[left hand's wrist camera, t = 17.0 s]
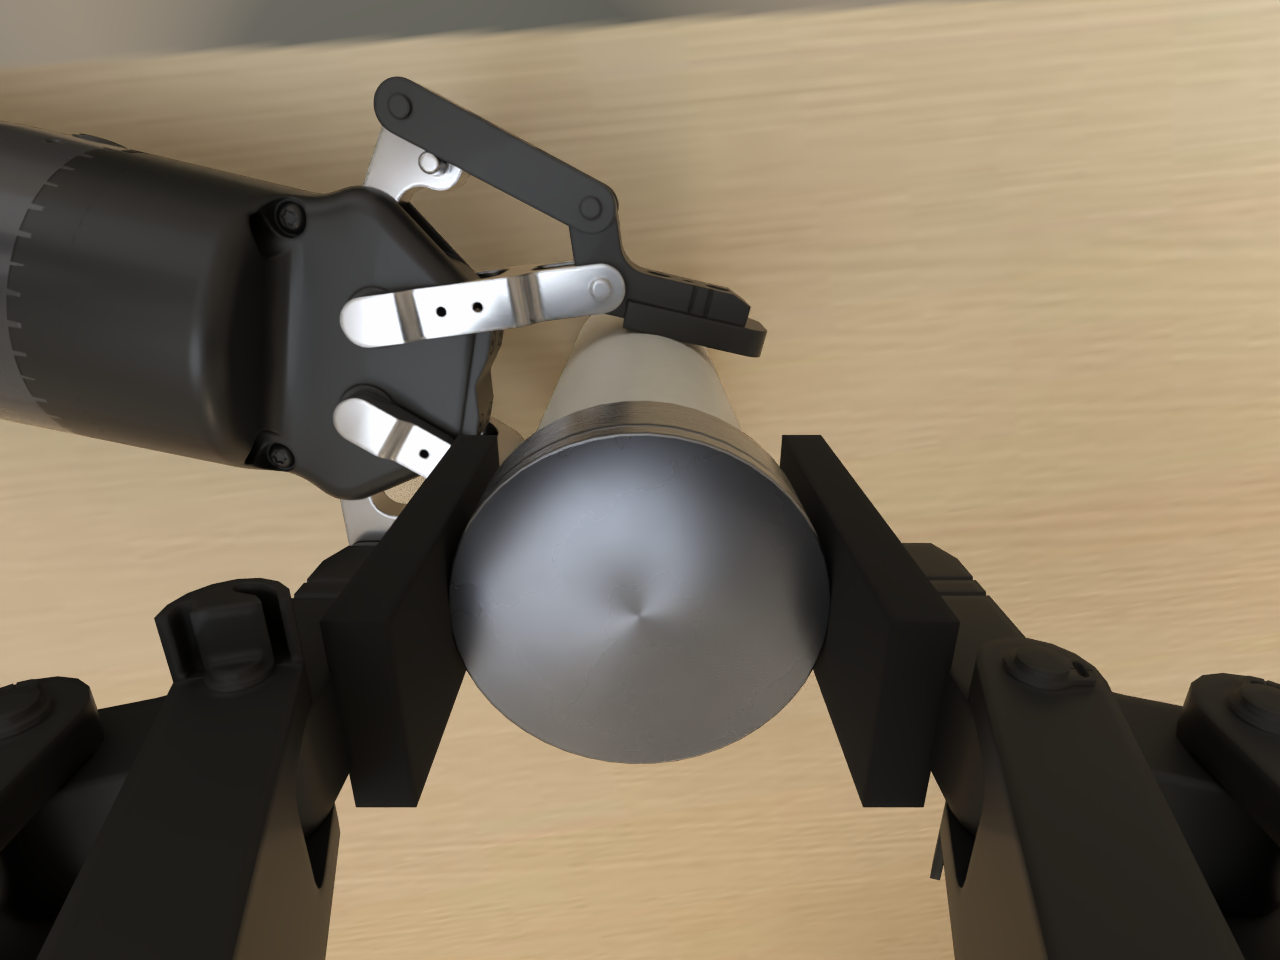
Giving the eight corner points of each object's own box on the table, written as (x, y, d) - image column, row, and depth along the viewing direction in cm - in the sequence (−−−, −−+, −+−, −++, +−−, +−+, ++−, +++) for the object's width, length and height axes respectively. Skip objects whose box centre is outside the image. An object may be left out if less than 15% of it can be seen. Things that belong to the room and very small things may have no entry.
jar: (718, 308, 25) (833, 475, 10) (689, 434, 27) (751, 733, 12) (585, 281, 25) (503, 414, 10) (564, 411, 27) (468, 690, 12)
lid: (575, 739, 13) (567, 810, 12) (405, 496, 11) (368, 542, 10) (856, 622, 12) (887, 683, 11) (720, 334, 11) (734, 358, 9)
